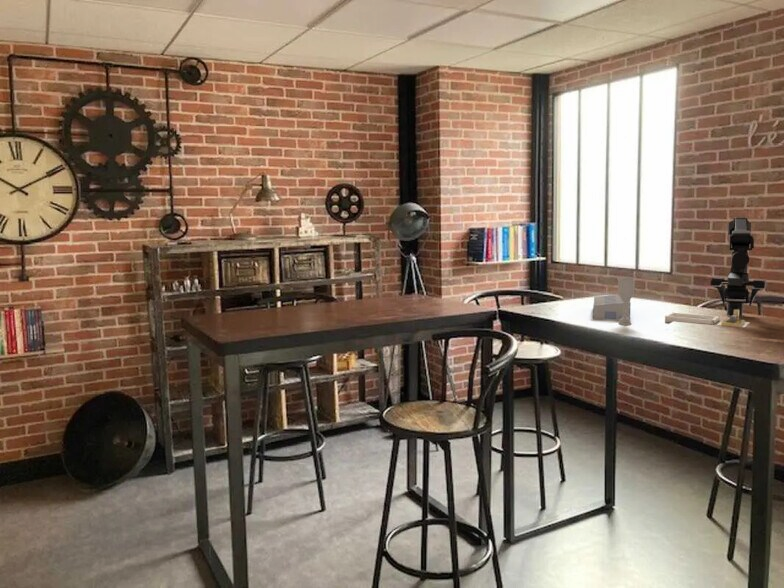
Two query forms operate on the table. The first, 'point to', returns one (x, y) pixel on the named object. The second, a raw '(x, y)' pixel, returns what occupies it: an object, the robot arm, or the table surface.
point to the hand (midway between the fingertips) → (736, 304)
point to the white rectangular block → (732, 319)
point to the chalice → (625, 296)
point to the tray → (691, 318)
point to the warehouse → (609, 307)
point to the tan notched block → (737, 320)
